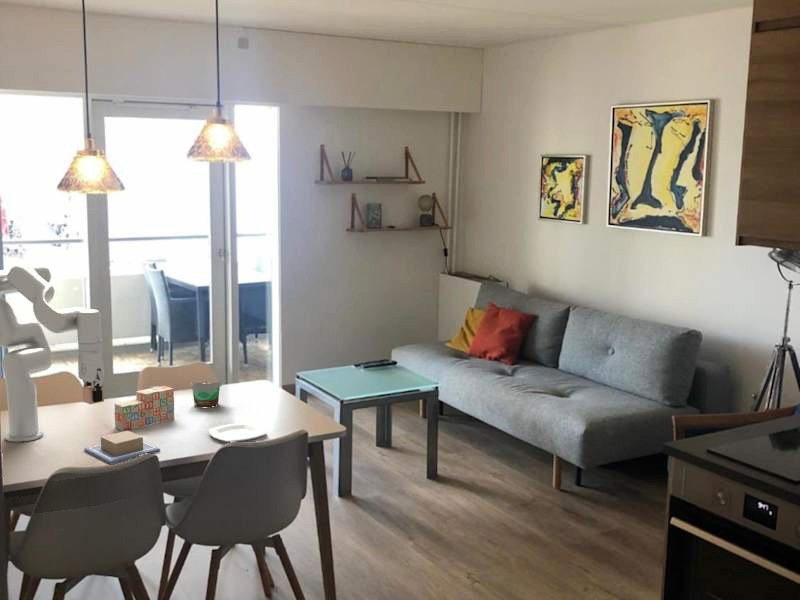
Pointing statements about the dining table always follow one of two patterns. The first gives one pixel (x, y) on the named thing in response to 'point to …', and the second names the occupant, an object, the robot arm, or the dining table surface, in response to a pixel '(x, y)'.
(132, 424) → the stack of blocks
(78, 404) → the dining table surface
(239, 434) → the plate
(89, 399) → the terracotta cube
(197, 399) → the food container
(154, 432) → the dining table surface
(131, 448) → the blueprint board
